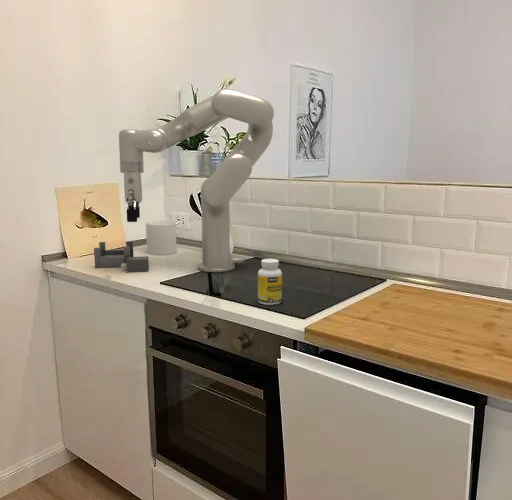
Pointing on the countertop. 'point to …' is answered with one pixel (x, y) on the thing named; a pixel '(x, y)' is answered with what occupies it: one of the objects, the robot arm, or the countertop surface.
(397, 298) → the countertop surface
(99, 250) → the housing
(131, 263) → the plug
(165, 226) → the cup
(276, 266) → the pill bottle
